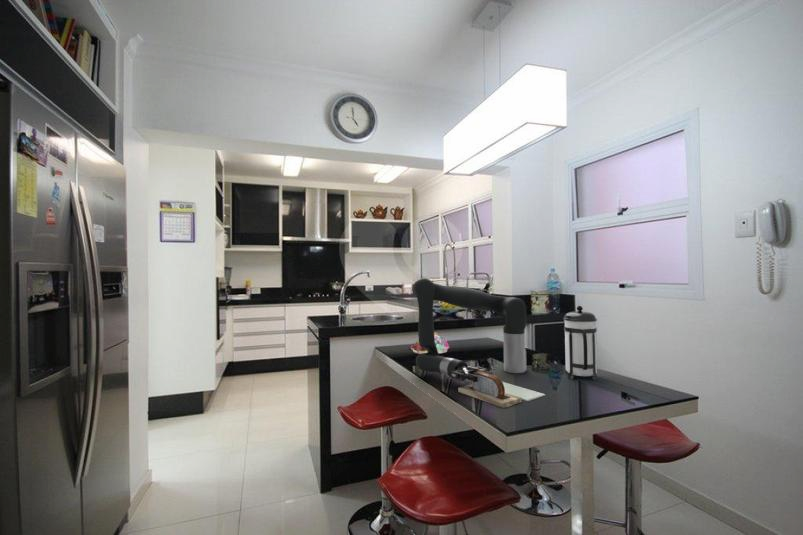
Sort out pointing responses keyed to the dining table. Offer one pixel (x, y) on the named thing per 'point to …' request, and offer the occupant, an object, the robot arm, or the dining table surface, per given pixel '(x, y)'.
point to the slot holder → (504, 403)
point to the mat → (522, 392)
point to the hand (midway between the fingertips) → (484, 377)
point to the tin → (488, 385)
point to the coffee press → (580, 344)
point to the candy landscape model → (440, 344)
